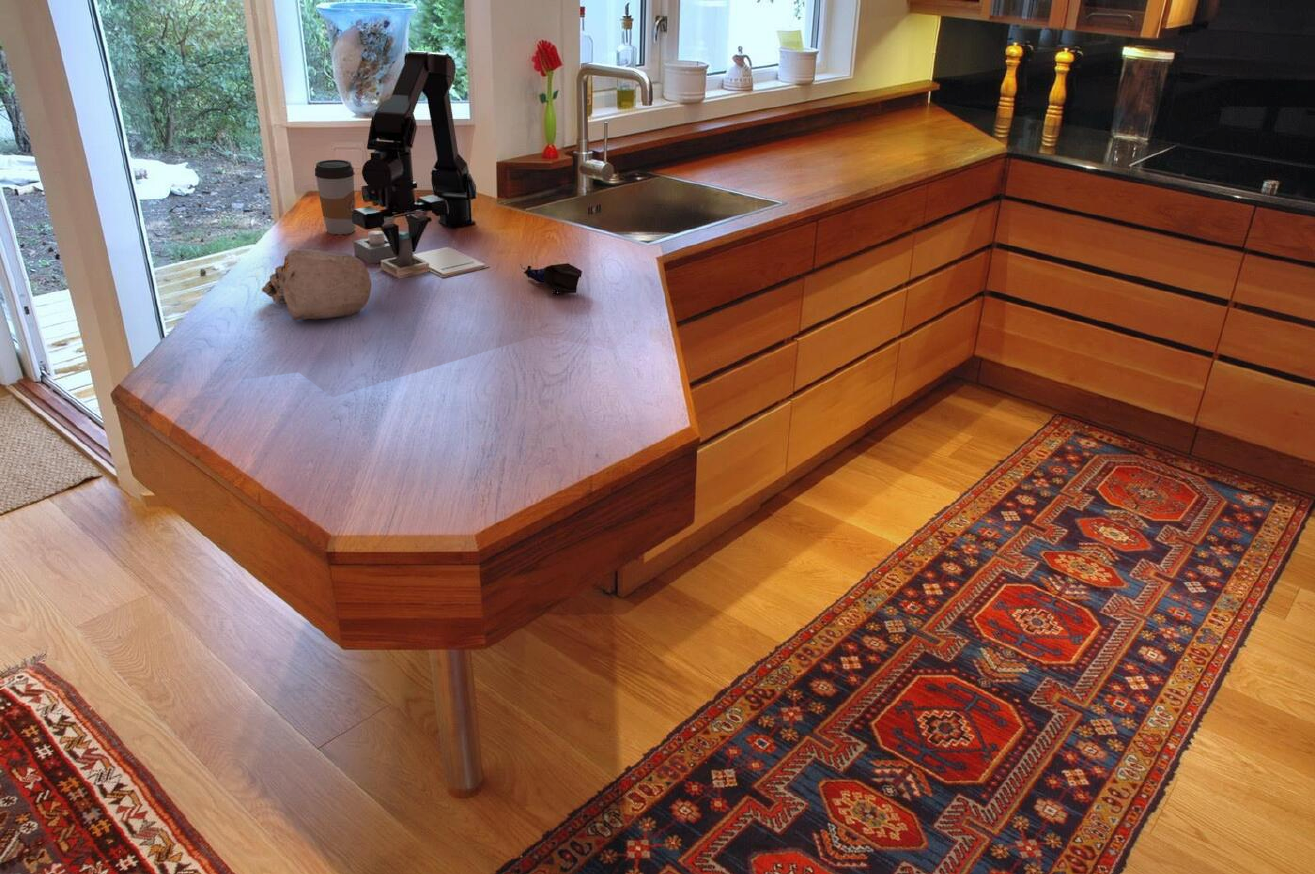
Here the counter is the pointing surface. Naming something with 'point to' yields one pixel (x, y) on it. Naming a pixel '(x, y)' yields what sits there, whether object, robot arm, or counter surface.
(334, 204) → the coffee cup
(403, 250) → the marker
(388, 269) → the holder tray
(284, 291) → the decorative skull
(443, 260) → the white flat rectangular panel
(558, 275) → the toy
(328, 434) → the counter surface
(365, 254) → the button housing
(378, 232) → the button
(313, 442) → the counter surface
